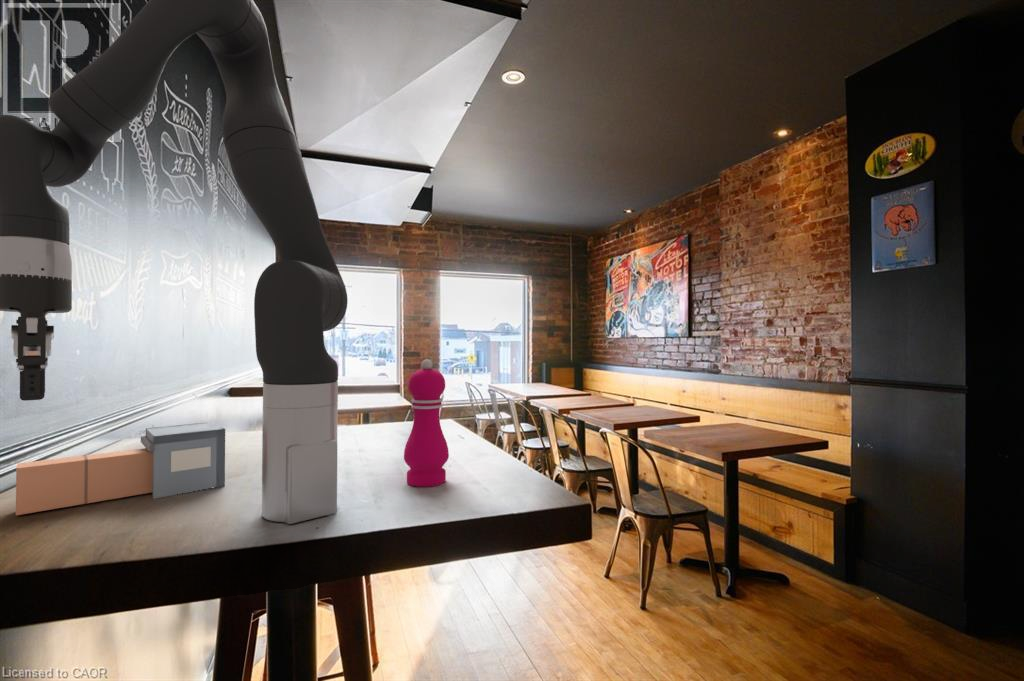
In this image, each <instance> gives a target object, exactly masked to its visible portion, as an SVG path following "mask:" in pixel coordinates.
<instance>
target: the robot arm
mask: <svg viewBox="0 0 1024 681" xmlns="http://www.w3.org/2000/svg"><path fill="white" fill-rule="evenodd" d="M193 35H197V36H198V37H199V38H200V39H201V40H202V42H203V43H204V45H205V46H206V47H207V48H208V50H209V51H210V53H211V55H212V57H213V59H214V61H215V64H216V67H217V69H218V72H219V74H220V77H221V81H222V83H223V87H224V91H225V95H226V100H225V101H226V102H225V107H224V110H223V115H222V121H221V124H222V125H221V133H222V134H221V135H222V140H223V144H224V148H225V152H226V155H227V158H228V162H229V165H230V169H231V172H232V174H233V175H232V176H233V177H234V180H235V182H236V185H237V186H238V189H239V191H240V192H241V194H242V195H243V197H244V199H245V200H246V201H247V202H246V203H248V205H249V207H250V208H251V210H252V211H253V212H254V214H255V215H256V217H257V218H258V220H260V223H261V224H262V225H263V227H264V228H265V231H266V232H267V233H268V234H269V237H270V238H271V239H272V242H273V244H274V246H275V248H276V252H277V255H278V258H279V260H278V261H275V262H272V263H271V264H269V265H268V266H267V267H266V268H265V269H264V270H263V271H262V272H261V274H260V276H259V277H258V280H257V283H256V286H255V291H254V298H253V299H254V303H253V310H254V311H253V312H254V315H253V317H254V335H255V338H254V339H255V353H256V359H257V362H258V365H259V366H260V368H261V371H262V382H263V383H262V438H261V440H262V444H261V445H262V447H261V448H262V450H261V451H262V452H261V454H262V457H261V460H262V461H261V462H262V464H261V516H262V518H263V519H265V520H268V521H271V522H279V523H281V522H282V523H286V524H287V525H293V524H297V523H301V522H304V521H307V520H309V521H310V520H312V519H316V518H320V517H324V516H329V515H332V514H337V512H338V417H339V416H338V406H339V405H338V404H339V403H338V401H339V399H338V397H339V396H338V395H339V394H338V393H339V391H338V390H339V382H338V380H339V367H338V362H337V360H335V359H334V358H333V356H331V355H330V354H329V353H328V351H327V349H326V346H325V336H324V332H328V331H331V330H333V329H334V328H336V327H337V326H339V324H340V323H341V322H342V321H343V320H344V317H345V315H346V312H347V309H348V294H347V292H348V291H347V288H346V285H345V283H344V280H343V277H342V275H341V273H340V270H339V268H338V265H337V263H336V261H335V259H334V257H333V254H332V251H331V249H330V247H329V244H328V242H327V239H326V236H325V234H324V230H323V228H322V224H321V221H320V216H319V214H318V210H317V207H316V202H315V200H314V199H315V198H314V196H313V193H312V189H311V186H310V183H309V180H308V175H307V172H306V168H305V165H304V164H305V163H304V160H303V157H302V154H301V149H300V146H299V143H298V140H297V136H296V132H295V131H294V128H293V125H292V122H291V119H290V115H289V112H288V110H287V107H286V105H285V102H284V99H283V97H282V94H281V91H280V89H279V86H278V82H277V79H276V73H275V69H274V64H273V63H274V62H273V57H272V53H271V52H272V51H271V47H270V46H271V45H270V41H269V40H270V39H269V34H268V28H267V25H266V22H265V20H264V17H263V15H262V12H261V10H260V9H259V7H258V6H257V5H256V3H255V1H254V0H148V1H147V2H146V3H145V5H144V6H142V8H141V9H140V10H139V11H138V13H137V14H136V15H135V17H133V19H131V21H130V23H129V24H128V25H127V26H126V28H125V29H124V30H123V31H122V32H121V33H120V35H118V37H117V38H116V39H115V40H114V42H113V43H111V45H110V46H108V48H107V49H105V50H104V51H103V52H102V53H101V54H100V55H99V56H98V57H97V58H95V59H94V60H93V61H92V62H91V63H89V64H88V65H87V66H86V67H84V68H83V69H81V70H80V71H79V72H77V73H76V74H75V75H74V76H72V77H71V78H70V79H68V80H66V82H65V83H64V84H62V85H61V86H60V87H58V88H57V89H56V90H55V91H53V92H52V93H51V94H50V96H49V97H48V102H47V103H48V105H49V109H50V110H51V111H52V113H53V114H54V116H55V117H57V118H58V119H59V120H58V122H57V124H56V126H54V128H53V129H52V130H51V131H48V130H46V129H45V128H43V127H41V126H39V125H37V124H36V123H33V122H31V121H29V120H27V119H25V118H23V117H19V116H17V115H13V114H0V312H11V313H19V314H20V316H18V318H17V319H16V320H15V322H16V323H15V324H11V330H10V333H11V339H12V340H13V344H12V345H13V346H12V347H13V348H12V350H13V352H12V353H13V356H14V357H16V358H15V359H16V360H15V363H16V368H18V371H19V399H20V400H21V401H40V400H43V399H44V398H45V395H46V394H45V393H46V369H47V368H48V361H49V357H50V356H52V340H53V339H54V337H55V336H54V335H55V331H54V330H55V326H54V325H48V324H49V323H48V320H47V318H46V316H47V315H48V314H63V313H66V314H67V313H70V312H71V311H72V309H73V303H72V302H73V300H72V299H73V295H72V294H73V290H72V289H73V286H72V285H73V275H72V274H73V273H72V272H73V264H72V263H73V262H72V256H71V255H72V254H71V249H70V214H69V210H68V209H67V207H66V206H65V205H64V204H62V202H60V201H59V200H58V199H57V198H54V197H53V196H52V194H51V193H50V192H49V190H48V187H51V188H58V187H65V186H68V185H71V184H73V183H75V182H77V181H78V180H80V179H81V178H82V177H84V176H85V175H86V173H87V172H88V171H89V169H90V168H91V167H92V165H93V164H94V162H95V160H96V159H97V157H98V156H99V155H100V153H101V152H102V150H103V148H104V146H105V145H106V143H107V141H108V140H109V139H110V138H111V137H112V136H114V135H115V134H116V133H118V132H119V131H120V130H122V129H123V128H124V127H125V126H126V125H128V124H129V123H130V122H131V121H133V120H134V119H135V118H137V117H139V115H140V114H141V113H143V111H144V110H145V109H146V108H147V107H148V105H149V104H150V103H151V100H152V98H153V97H154V96H155V93H156V90H157V87H158V84H159V82H160V79H161V77H162V76H161V75H162V73H163V71H164V69H165V67H166V64H167V63H168V61H169V59H170V57H171V56H172V55H173V53H174V52H175V50H176V49H177V48H178V47H179V46H180V45H182V43H184V42H185V41H186V40H187V39H189V38H190V37H192V36H193Z"/></svg>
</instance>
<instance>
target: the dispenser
mask: <svg viewBox="0 0 1024 681" xmlns="http://www.w3.org/2000/svg"><path fill="white" fill-rule="evenodd" d="M140 443H141V444H142V445H143V446H144V448H146V449H147V450H148V451H149V452H151V451H153V492H152V498H153V499H161V498H165V497H171V496H177V494H178V495H183V494H189V493H193V491H195V492H199V491H198V490H200V491H203V490H202V489H206V490H208V489H207V488H212V487H217V488H220V487H219V486H223V487H225V486H226V482H225V481H226V428H224V427H222V426H221V425H218V424H216V423H214V422H212V421H210V422H209V421H208V422H197V423H196V422H195V423H186V424H180V425H179V424H177V425H168V426H167V425H165V426H158V427H157V426H156V427H146V428H145V435H140ZM212 489H213V488H212ZM188 492H189V493H188ZM182 493H183V494H182Z"/></svg>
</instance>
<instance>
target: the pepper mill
mask: <svg viewBox="0 0 1024 681" xmlns="http://www.w3.org/2000/svg"><path fill="white" fill-rule="evenodd" d="M432 367H433V362H432V360H431V359H427V358H425V359H424V360H422V362H421V368H420V369H418V370H416V371H414V372H413V373H412V374H411V375H410V377H409V379H408V384H407V386H408V387H407V388H408V391H409V394H411V396H412V397H413V398H411V400H410V401H411V406H410V407H411V408H412V409H413V422H412V423H413V424H412V428H411V431H410V434H409V437H408V438H407V441H406V443H405V447H404V452H403V461H404V462H405V464H406V465H407V466H408V467H409V469H408V470H407V471H406V483H407V484H408V485H410V486H411V487H417V488H428V487H429V488H431V487H437V486H439V485H443V484H444V483H445V482H446V481H447V478H446V472H447V471H446V469H445V468H444V465H445V464H446V463H447V462H448V460H449V456H450V454H449V447H448V442H447V440H446V438H445V435H444V433H443V430H442V429H443V428H442V427H441V420H440V412H441V411H440V409H441V408H442V407H443V404H442V402H443V398H442V397H441V396H442V395H443V393H444V391H445V390H446V380H445V377H444V376H443V374H442V373H441V372H440V371H438V370H436V369H434V368H432Z"/></svg>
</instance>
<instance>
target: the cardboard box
mask: <svg viewBox="0 0 1024 681" xmlns="http://www.w3.org/2000/svg"><path fill="white" fill-rule="evenodd" d="M15 469H16V470H15V471H16V472H15V474H16V475H15V516H21V515H26V514H32V513H38V512H43V511H49V510H55V509H61V508H68V507H73V506H79V505H87V504H90V503H97V502H103V501H110V500H115V499H121V498H126V497H132V496H137V495H143V494H144V495H145V494H149V493H151V494H152V493H153V451H151V452H149V451H148V450H147V449H146V447H144V448H138V449H129V450H121V451H120V450H119V451H112V452H104V453H95V454H83V455H79V456H78V455H77V456H69V457H61V458H53V459H45V460H37V461H36V460H35V461H27V462H19V463H17V465H16V468H15Z"/></svg>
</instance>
